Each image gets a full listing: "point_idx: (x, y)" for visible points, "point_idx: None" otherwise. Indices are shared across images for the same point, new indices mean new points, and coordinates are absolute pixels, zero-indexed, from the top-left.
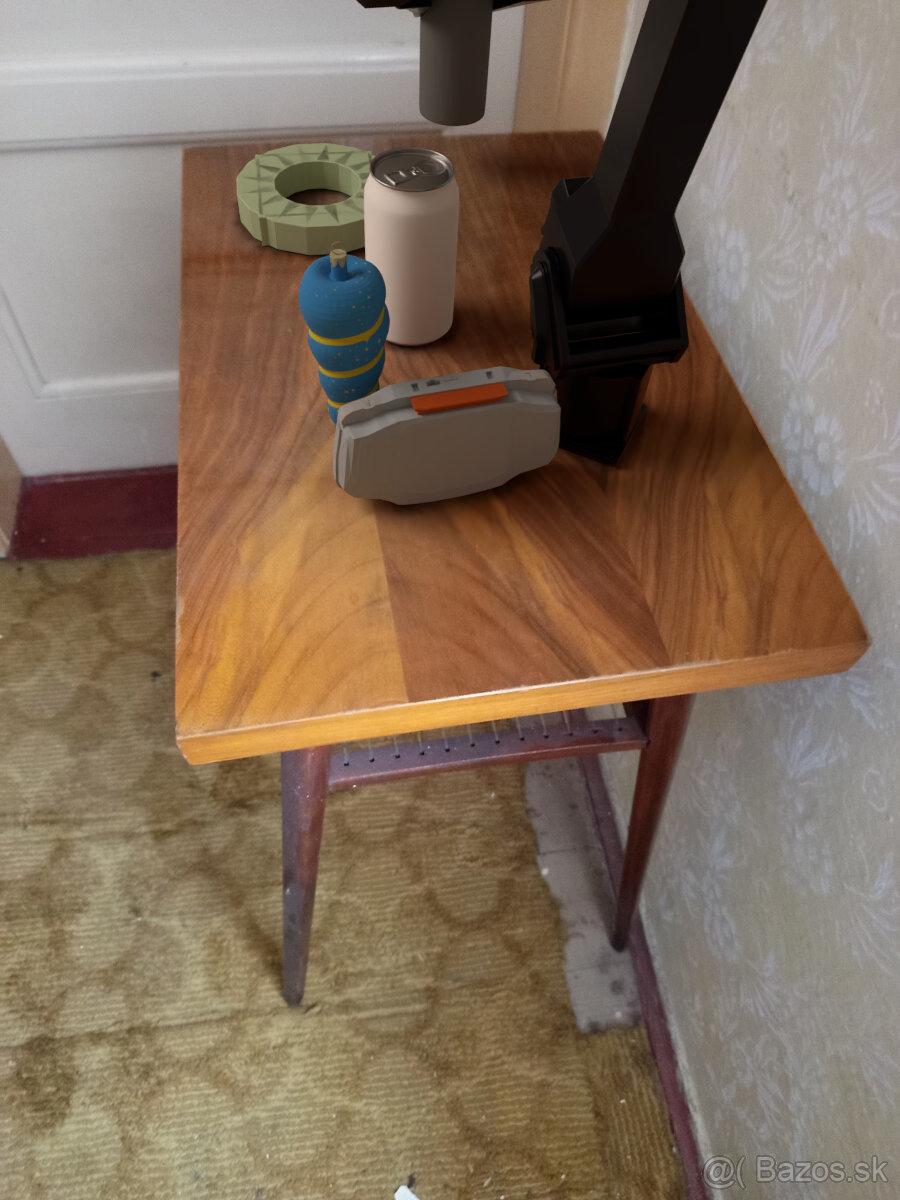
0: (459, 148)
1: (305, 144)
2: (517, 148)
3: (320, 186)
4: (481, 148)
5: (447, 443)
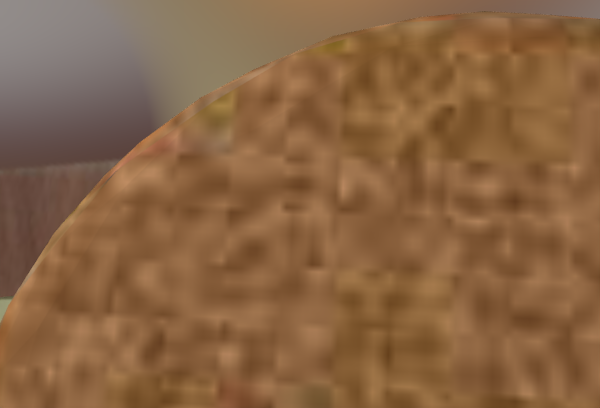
0: None
1: (8, 303)
2: None
3: None
4: None
5: None
